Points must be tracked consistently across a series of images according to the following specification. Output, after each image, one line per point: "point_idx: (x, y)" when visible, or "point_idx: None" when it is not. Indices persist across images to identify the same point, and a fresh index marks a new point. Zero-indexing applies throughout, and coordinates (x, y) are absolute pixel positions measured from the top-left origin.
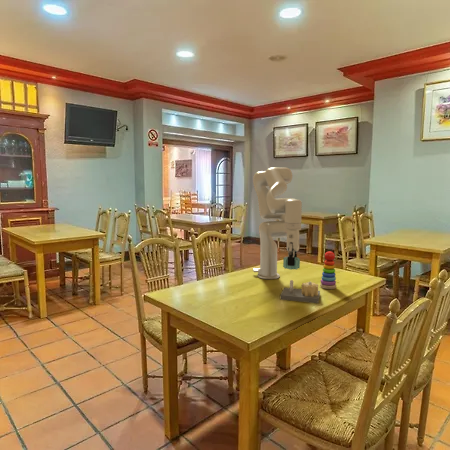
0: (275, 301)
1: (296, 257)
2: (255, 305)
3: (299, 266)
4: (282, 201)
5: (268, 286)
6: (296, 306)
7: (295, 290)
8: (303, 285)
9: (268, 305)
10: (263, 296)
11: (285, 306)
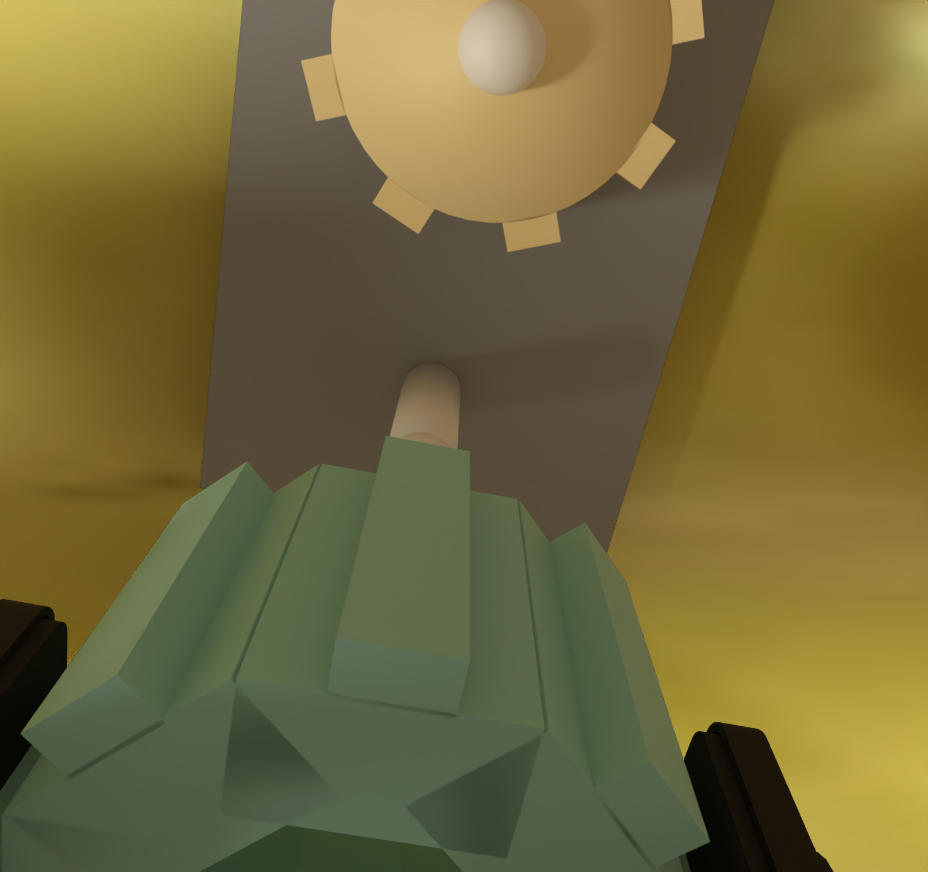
0: (681, 590)
1: (92, 776)
2: (822, 797)
3: (464, 480)
4: None
5: None
6: (898, 325)
7: (334, 314)
8: (555, 217)
9: (831, 671)
10: None
11: (885, 476)
